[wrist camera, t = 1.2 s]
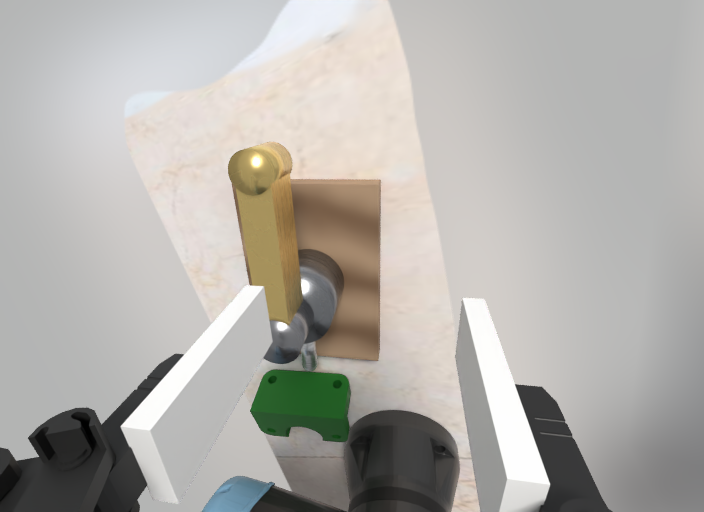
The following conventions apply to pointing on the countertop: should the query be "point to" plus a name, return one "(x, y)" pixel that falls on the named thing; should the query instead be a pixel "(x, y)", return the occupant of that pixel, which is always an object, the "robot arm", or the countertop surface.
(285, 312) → the yellow bar
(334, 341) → the stand
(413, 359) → the countertop surface
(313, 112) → the countertop surface
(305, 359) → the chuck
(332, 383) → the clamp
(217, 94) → the countertop surface
